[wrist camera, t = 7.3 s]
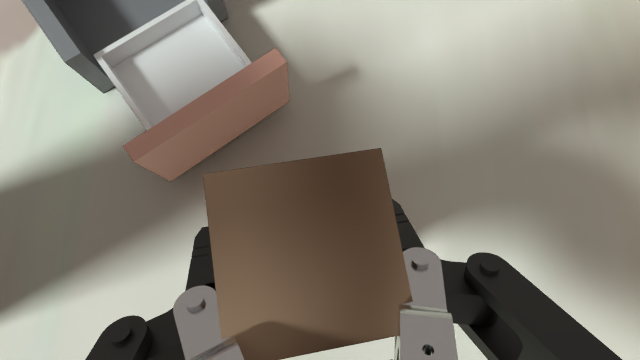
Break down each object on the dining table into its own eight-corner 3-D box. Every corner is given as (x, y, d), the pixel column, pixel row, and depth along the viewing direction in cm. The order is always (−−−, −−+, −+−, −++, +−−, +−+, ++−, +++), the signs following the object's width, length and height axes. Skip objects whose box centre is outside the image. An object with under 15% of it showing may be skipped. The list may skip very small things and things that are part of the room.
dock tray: (289, 100, 28) (286, 61, 22) (170, 181, 26) (133, 161, 21) (218, 9, 29) (198, -51, 24) (100, 80, 28) (46, 35, 22)
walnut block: (264, 301, 20) (224, 370, 9) (253, 215, 21) (203, 174, 10) (349, 285, 21) (418, 331, 9) (334, 202, 22) (380, 147, 10)
